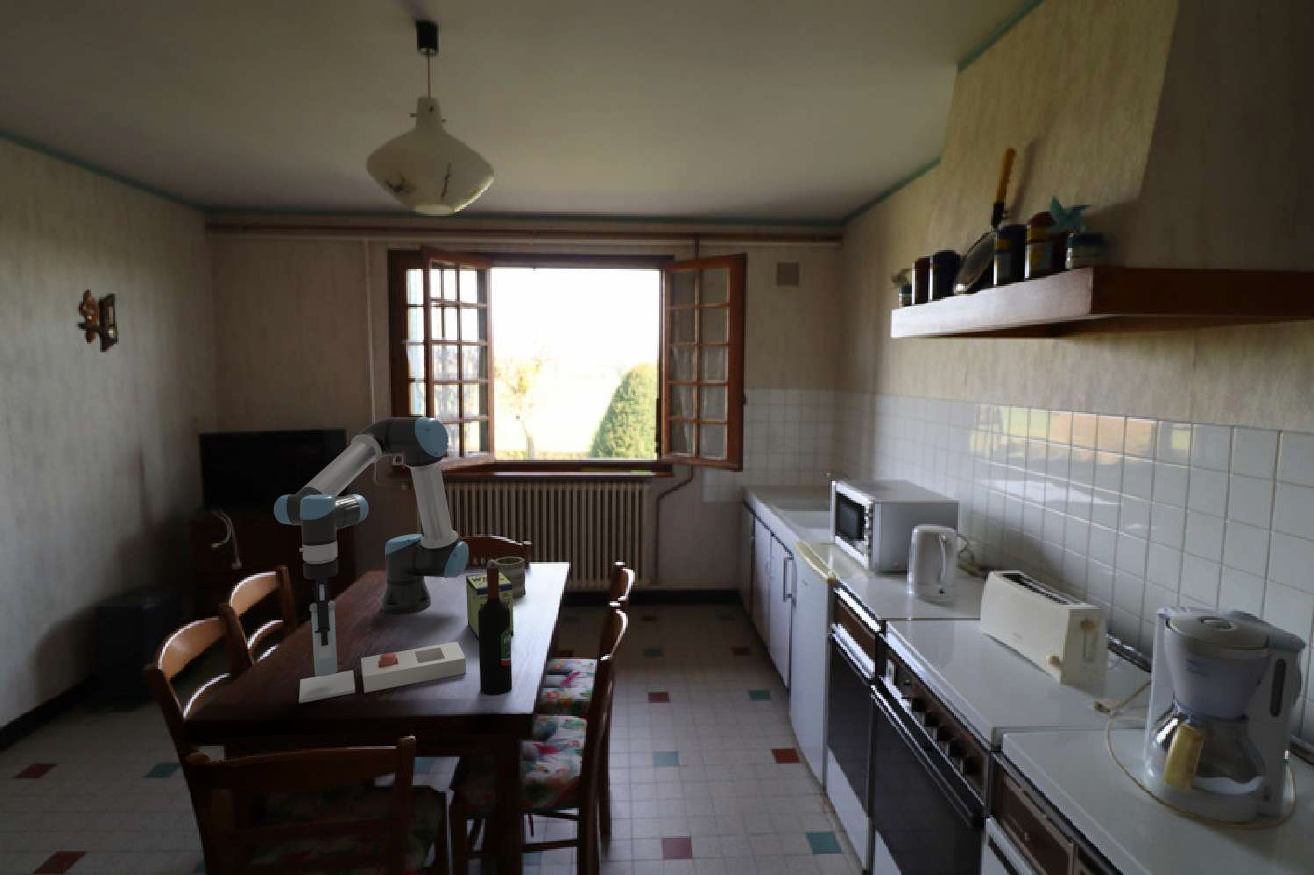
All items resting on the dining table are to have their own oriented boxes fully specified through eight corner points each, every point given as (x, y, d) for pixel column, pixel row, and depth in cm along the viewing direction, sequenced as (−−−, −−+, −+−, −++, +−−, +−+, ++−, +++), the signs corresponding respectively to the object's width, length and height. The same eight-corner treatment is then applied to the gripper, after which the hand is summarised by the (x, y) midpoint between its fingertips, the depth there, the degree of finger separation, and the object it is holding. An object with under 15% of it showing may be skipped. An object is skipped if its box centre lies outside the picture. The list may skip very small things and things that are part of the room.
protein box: (478, 642, 197) (477, 589, 196) (466, 624, 211) (465, 575, 209) (514, 635, 202) (513, 583, 200) (500, 619, 216) (499, 570, 214)
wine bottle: (483, 682, 172) (479, 563, 169) (513, 680, 172) (510, 562, 170) (477, 696, 164) (473, 572, 161) (510, 694, 165) (506, 571, 162)
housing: (361, 673, 177) (361, 658, 177) (457, 655, 188) (457, 641, 187) (364, 692, 167) (363, 676, 166) (466, 673, 177) (465, 657, 177)
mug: (532, 593, 241) (531, 559, 239) (510, 601, 232) (509, 566, 230) (499, 585, 249) (498, 553, 248) (477, 594, 240) (476, 560, 239)
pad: (300, 682, 172) (300, 679, 172) (353, 673, 177) (353, 670, 177) (299, 703, 162) (299, 699, 161) (355, 692, 167) (355, 689, 167)
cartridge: (313, 669, 170) (310, 602, 169) (338, 665, 173) (335, 599, 171) (312, 678, 165) (309, 609, 164) (338, 674, 168) (335, 606, 166)
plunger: (380, 671, 175) (379, 654, 175) (395, 668, 177) (394, 651, 176) (381, 677, 172) (380, 659, 172) (397, 674, 174) (396, 657, 173)
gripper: (303, 552, 173) (308, 643, 175) (301, 571, 157) (307, 670, 159) (336, 549, 176) (341, 637, 178) (338, 566, 160) (343, 664, 162)
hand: (325, 652), depth 169 cm, fingers closed on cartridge, 5 cm apart
